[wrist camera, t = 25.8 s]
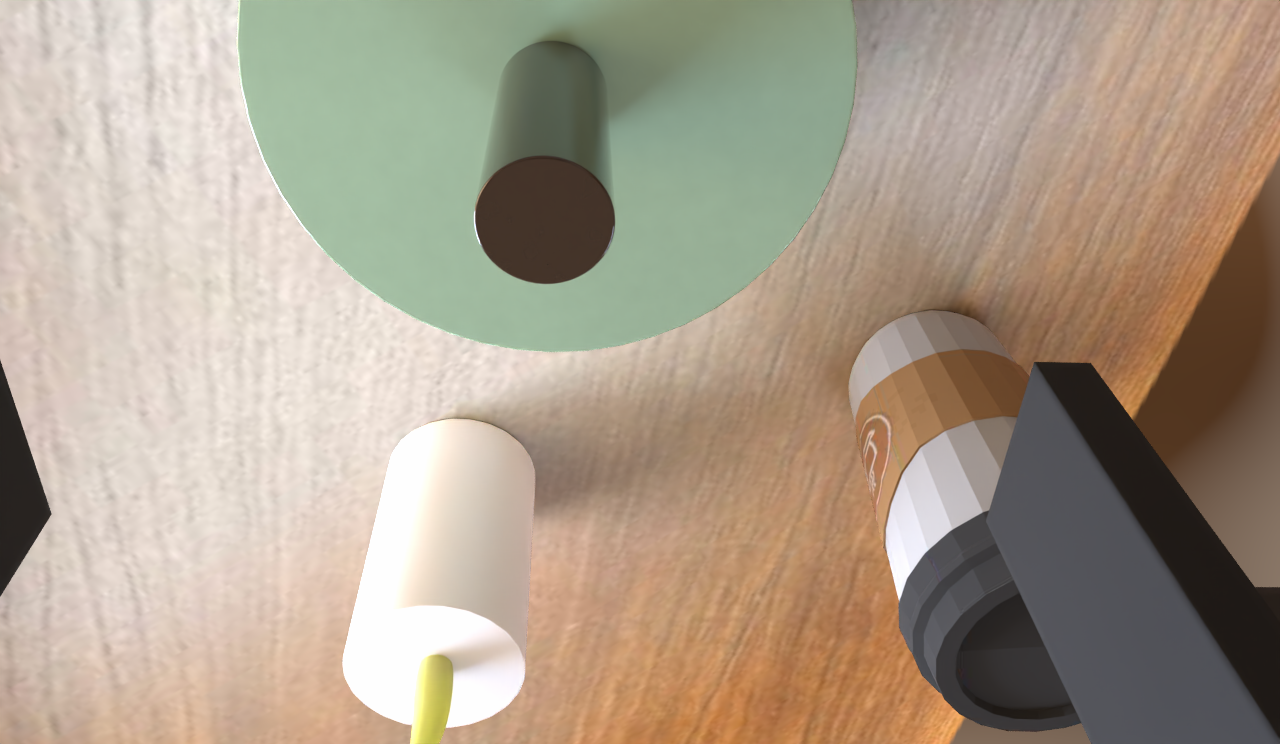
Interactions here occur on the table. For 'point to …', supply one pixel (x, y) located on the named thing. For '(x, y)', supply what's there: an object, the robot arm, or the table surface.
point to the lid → (550, 151)
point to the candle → (446, 580)
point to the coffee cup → (952, 514)
